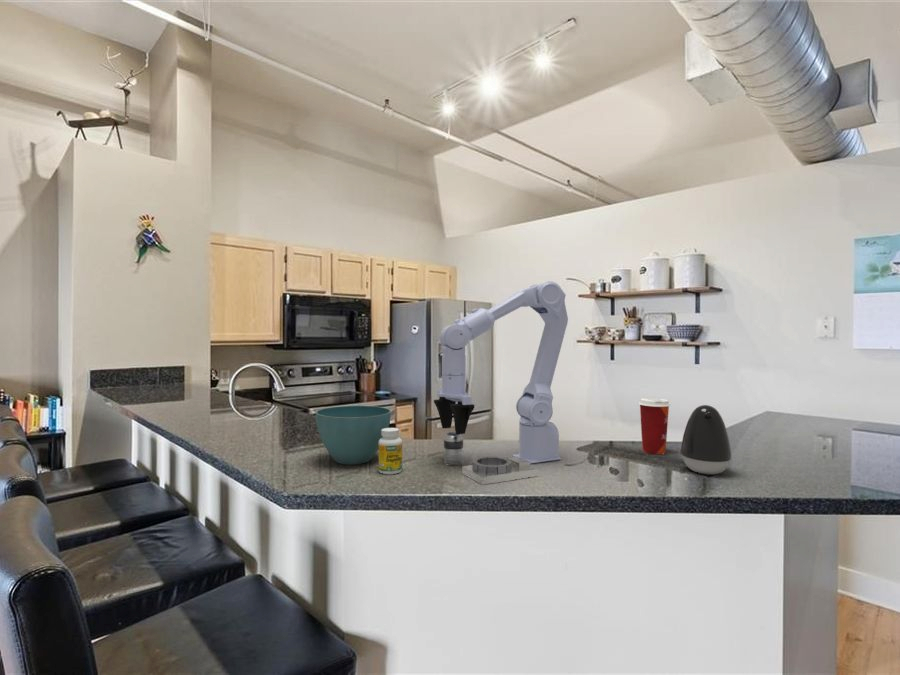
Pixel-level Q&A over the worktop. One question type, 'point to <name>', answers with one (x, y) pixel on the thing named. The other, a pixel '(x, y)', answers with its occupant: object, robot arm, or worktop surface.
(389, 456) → the supplement bottle
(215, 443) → the worktop surface
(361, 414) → the teal bowl
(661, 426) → the paper cup
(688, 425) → the black egg-shaped body
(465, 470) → the octagonal collar plate
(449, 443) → the lens
